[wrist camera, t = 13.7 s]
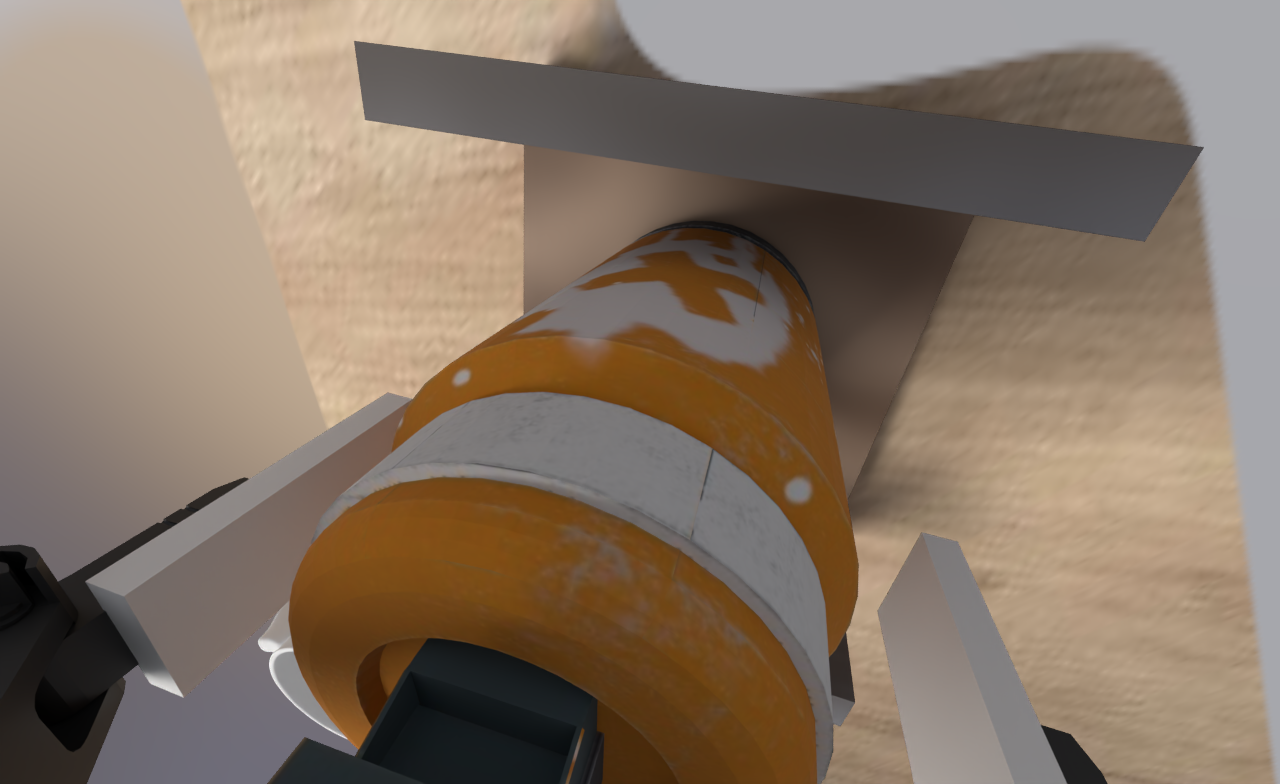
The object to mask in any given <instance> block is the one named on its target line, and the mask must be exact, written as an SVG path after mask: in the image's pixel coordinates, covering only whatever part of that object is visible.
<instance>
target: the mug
mask: <svg viewBox="0 0 1280 784" xmlns="http://www.w3.org/2000/svg"><path fill="white" fill-rule="evenodd" d="M289 603H290V600H289V601H288V602H287V603H286V604H285V605H284V606H283V607H282V608H281V609H280V610H279V611H278V613H277V615H276V617H275V618H274V620H273V622H272V624H271V625H270V627H269V629H268V630H267V631H266V632H265V633H264V634H263V636H261V637H260V638H259V641H258V644H259V646H260V648H261V649H262V650H264V651H267V652H274V653H273V654H272V656H271V657H270V661H269V667H270V672H271V675H272V677H273V679H274V681H275V683H276V684H277V686H278V687H279V688H280V690H281V691H282V692H283V693H284V694H285V696H286V697H287V698H288V699H289V700H290V701H291V702H292V703H293V704H294V705H295V706H296V707H298V708H299V709H300V710H301V711H302V712H303V713H305V714H306V715H307V716H308V717H310V718H311V719H313V720H314V721H316V722H317V723H318V724H320V725H322V726H323V727H325V728H326V729H328V730H330V731H331V732H333V733H335V734H337V735H339V736H341V737H344V738H346V737H345V735H344V734H343V733H342V732H341V731H340V730H339V729H338V728H337V726H336V725H335V724H334V723H333V722H332V721H331V720H330V718H329V717H328V716H327V714H326V713H325V711H324V710H323V709H322V707H321V706H320V705H319V703H318V702H317V700H316V699H315V698H314V696H313V694H312V692H311V691H310V689H309V687H308V685H307V683H306V682H305V680H304V678H303V676H302V674H301V671H300V669H299V666H298V663H297V661H296V658H295V655H294V651H293V645H292V639H291V634H290V628H289V622H288V616H289ZM346 739H347V738H346Z"/></svg>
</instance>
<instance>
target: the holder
mask: <svg viewBox="0 0 1280 784" xmlns="http://www.w3.org/2000/svg"><path fill="white" fill-rule="evenodd" d="M354 43H355V51H356V58H357V65H358V72H359V79H360V86H361V93H362V101H363V108H364V115H365V120H369V121H376V122H382V123H388V124H395V125H401V126H408V127H414V128H421V129H427V130H433V131H440V132H446V133H453V134H459V135H465V136H472V137H478V138H485V139H491V140H497V141H504V142H510V143H517V144H523V145H524V314H526V313H527V312H529V311H530V310H532V309H533V308H535V307H536V306H538V305H539V304H541V303H542V302H544V301H545V300H547V299H548V298H550V297H551V296H553V295H554V294H556V293H557V292H559V291H560V290H562V289H563V288H565V287H566V286H568V285H569V284H571V283H572V282H574V281H575V280H577V279H578V278H580V277H581V276H583V275H584V274H586V273H587V272H589V271H590V270H592V269H593V268H595V267H596V266H598V265H599V264H601V263H602V262H604V261H605V260H607V259H608V258H610V257H611V256H613V255H614V254H616V253H617V252H619V251H620V250H622V249H623V248H625V247H626V246H628V245H630V244H631V243H632V242H634V241H635V240H637V239H638V238H640V237H642V236H644V235H646V234H648V233H650V232H652V231H653V230H655V229H658V228H661V227H664V226H667V225H671V224H674V223H681V222H687V221H714V222H720V223H725V224H730V225H734V226H736V227H739V228H742V229H745V230H747V231H750V232H752V233H754V234H755V235H757V236H759V237H761V238H762V239H764V240H766V241H768V242H769V243H770V244H771V245H772V246H774V247H775V248H776V249H777V250H779V251H780V252H781V253H782V254H783V255H784V256H785V257H786V258H787V259H788V260H789V262H790V263H791V264H792V265H793V266H794V267H795V269H796V270H797V272H798V274H799V275H800V277H801V278H802V280H803V282H804V283H805V285H806V288H807V290H808V293H809V296H810V298H811V301H812V304H813V309H814V314H815V320H816V325H817V331H818V336H819V342H820V348H821V353H822V359H823V365H824V371H825V376H826V382H827V388H828V393H829V399H830V405H831V410H832V416H833V422H834V427H835V433H836V439H837V444H838V450H839V456H840V461H841V467H842V473H843V478H844V484H845V490H846V495H847V500H848V498H849V496H850V494H851V491H852V489H853V487H854V485H855V482H856V480H857V478H858V476H859V473H860V471H861V469H862V467H863V464H864V462H865V460H866V458H867V455H868V453H869V451H870V449H871V446H872V444H873V442H874V440H875V437H876V435H877V433H878V431H879V428H880V426H881V424H882V422H883V419H884V417H885V415H886V413H887V410H888V408H889V406H890V404H891V401H892V399H893V397H894V395H895V392H896V390H897V388H898V386H899V383H900V381H901V379H902V377H903V374H904V372H905V370H906V368H907V365H908V363H909V361H910V359H911V356H912V354H913V352H914V350H915V347H916V345H917V343H918V341H919V339H920V336H921V334H922V332H923V330H924V327H925V325H926V323H927V321H928V318H929V316H930V314H931V312H932V309H933V307H934V305H935V303H936V300H937V298H938V296H939V294H940V291H941V289H942V287H943V285H944V282H945V280H946V278H947V276H948V273H949V271H950V269H951V267H952V264H953V262H954V260H955V258H956V255H957V253H958V251H959V249H960V246H961V244H962V242H963V240H964V237H965V235H966V233H967V231H968V228H969V226H970V224H971V222H972V219H973V217H974V215H978V216H984V217H991V218H997V219H1004V220H1010V221H1016V222H1023V223H1029V224H1036V225H1042V226H1048V227H1055V228H1061V229H1068V230H1074V231H1080V232H1087V233H1093V234H1100V235H1106V236H1112V237H1119V238H1125V239H1132V240H1138V241H1144V242H1145V240H1146V239H1147V237H1148V236H1149V234H1150V232H1151V231H1152V229H1153V228H1154V226H1155V224H1156V223H1157V221H1158V220H1159V218H1160V216H1161V215H1162V213H1163V212H1164V210H1165V208H1166V207H1167V205H1168V204H1169V202H1170V200H1171V199H1172V197H1173V196H1174V194H1175V193H1176V191H1177V189H1178V188H1179V186H1180V185H1181V183H1182V181H1183V180H1184V178H1185V177H1186V175H1187V173H1188V172H1189V170H1190V169H1191V167H1192V165H1193V164H1194V162H1195V161H1196V159H1197V158H1198V156H1199V154H1200V153H1201V151H1202V150H1203V148H1204V147H1197V146H1189V145H1181V144H1173V143H1165V142H1157V141H1149V140H1141V139H1133V138H1125V137H1118V136H1110V135H1102V134H1094V133H1086V132H1078V131H1070V130H1062V129H1054V128H1046V127H1038V126H1030V125H1022V124H1014V123H1006V122H998V121H990V120H982V119H974V118H966V117H958V116H950V115H942V114H934V113H926V112H918V111H910V110H902V109H894V108H886V107H878V106H870V105H862V104H854V103H846V102H838V101H830V100H822V99H814V98H806V97H798V96H790V95H782V94H774V93H766V92H758V91H750V90H742V89H734V88H726V87H718V86H710V85H702V84H694V83H686V82H678V81H670V80H662V79H654V78H646V77H638V76H630V75H622V74H614V73H606V72H598V71H590V70H582V69H574V68H566V67H558V66H550V65H542V64H534V63H526V62H518V61H510V60H502V59H494V58H486V57H478V56H470V55H462V54H454V53H446V52H438V51H430V50H422V49H414V48H406V47H398V46H390V45H382V44H374V43H366V42H358V41H354ZM829 668H830V683H831V697H832V712H833V724H835V725H838V726H841V724H842V723H843V721H844V719H845V718H846V716H847V715H848V713H849V712H850V710H851V708H852V707H853V705H854V704H855V698H854V690H853V682H852V675H851V667H850V659H849V652H848V644H847V636H846V633H845V635H844V636H843V638H842V640H841V642H840V643H839V645H838V647H837V649H836V650H835V651H834V652H833V654H832V655H831V656H830V657H829Z"/></svg>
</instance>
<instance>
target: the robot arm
mask: <svg viewBox="0 0 1280 784" xmlns="http://www.w3.org/2000/svg"><path fill="white" fill-rule="evenodd" d="M411 401H412V399H410V398H407V397H403V396H399V395H395V394H391V393H386V394H385V395H383V396H382V397H380V398H378V399H377V400H375V401H374V402H372V403H370V404H369V405H367V406H366V407H364V408H362V409H361V410H359V411H358V412H356V413H354V414H353V415H351V416H350V417H348V418H346V419H345V420H343V421H342V422H340V423H338V424H337V425H335V426H334V427H332V428H330V429H329V430H327V431H325V432H324V433H322V434H321V435H319V436H317V437H316V438H314V439H313V440H311V441H310V442H308V443H306V444H305V445H303V446H302V447H300V448H298V449H297V450H295V451H294V452H292V453H290V454H289V455H287V456H285V457H284V458H282V459H281V460H279V461H278V462H276V463H274V464H273V465H271V466H270V467H268V468H266V469H265V470H263V471H261V472H260V473H258V474H257V475H255V476H253V477H252V478H250V479H248V478H242V479H239V480H236V481H233V482H231V483H228V484H226V485H223V486H220V487H218V488H215V489H213V490H211V491H209V492H208V493H206V494H204V495H203V496H201V497H199V498H198V499H196V500H195V501H193V502H191V503H190V504H188V505H186V508H185V509H180V510H178V511H176V512H175V513H173V514H171V515H170V516H168V517H166V518H165V519H164V521H163V522H162V523H156V524H155V525H153V526H151V527H150V528H148V529H146V530H145V531H143V532H141V533H140V534H138V535H136V536H135V537H133V538H131V539H130V540H128V541H127V542H125V543H123V544H121V545H120V546H118V547H116V548H115V549H114V550H111V551H110V552H108V553H107V554H105V555H103V556H102V557H100V558H98V559H97V560H95V561H93V562H92V563H90V564H88V565H87V566H85V567H83V568H82V569H80V570H78V571H77V572H75V573H73V574H72V575H70V576H68V577H66V578H64V579H62V580H61V581H59V582H58V581H57V580H56V578H55V577H54V575H53V574H52V573H51V571H50V569H49V568H48V567H47V565H46V564H45V562H44V561H43V559H42V558H41V556H40V555H39V553H38V552H37V551H36V550H35V548H33V547H28V546H24V545H10V546H0V784H87V782H88V779H89V777H90V774H91V772H92V770H93V767H94V765H95V762H96V760H97V758H98V755H99V753H100V750H101V748H102V745H103V743H104V740H105V738H106V736H107V733H108V731H109V728H110V726H111V724H112V721H113V719H114V716H115V714H116V711H117V709H118V706H119V704H120V701H121V699H122V697H123V694H124V690H125V683H126V681H125V680H124V678H123V676H124V675H125V674H127V673H128V672H129V671H130V670H132V669H133V668H134V667H135V666H137V665H139V667H140V668H141V670H142V671H143V673H144V674H145V676H146V678H147V679H148V681H149V682H150V684H152V685H155V686H157V687H160V688H162V689H164V690H167V691H169V692H172V693H174V694H176V695H179V696H181V697H185V696H187V695H188V694H189V693H190V692H191V691H192V690H193V689H194V688H195V687H196V686H197V685H198V684H200V683H201V682H202V681H203V680H204V679H205V678H206V677H207V676H208V675H209V674H210V673H211V672H212V671H214V670H215V669H216V668H217V667H218V666H219V665H220V664H221V663H222V662H223V661H224V660H225V659H227V658H228V657H229V656H230V655H231V654H232V653H233V652H234V651H235V650H236V649H237V648H238V647H240V646H241V645H242V644H243V643H244V642H245V641H246V640H247V639H248V638H249V637H250V636H252V635H253V634H254V633H255V632H256V631H257V630H258V629H259V628H260V627H261V626H262V625H263V624H265V622H267V621H268V620H269V619H270V618H271V617H272V616H273V615H274V614H275V613H276V612H278V611H279V610H280V609H281V608H282V607H283V606H284V605H285V604H286V603H287V602H288V601H289V600H290V595H291V590H292V584H293V581H294V579H295V576H296V574H297V571H298V569H299V566H300V564H301V562H302V560H303V558H304V556H305V554H306V552H307V550H308V548H309V547H310V546H311V540H312V538H313V535H314V533H315V530H316V528H317V525H318V523H319V521H320V518H321V517H322V516H323V514H324V513H325V512H326V511H327V509H328V508H329V507H330V506H331V504H332V503H333V502H334V501H335V499H336V498H337V497H339V496H340V495H341V494H342V493H343V492H345V491H346V490H347V489H348V488H349V487H351V486H352V485H353V484H354V483H356V482H357V481H358V480H359V479H360V478H362V477H363V476H364V475H365V474H366V473H368V472H369V471H370V470H371V469H373V468H374V467H375V466H376V465H377V464H379V463H380V462H381V461H382V460H384V459H385V458H386V457H387V456H388V455H390V454H391V451H392V446H393V442H394V437H395V433H396V429H397V427H398V425H399V423H400V421H401V419H402V417H403V415H404V412H405V410H406V408H407V406H408V405H409V403H410V402H411ZM878 616H879V620H880V625H881V630H882V634H883V639H884V644H885V649H886V653H887V658H888V663H889V668H890V672H891V677H892V682H893V686H894V691H895V696H896V701H897V705H898V710H899V715H900V720H901V724H902V729H903V734H904V738H905V743H906V748H907V753H908V757H909V762H910V767H911V772H912V776H913V781H914V784H1107V782H1106V780H1105V778H1104V776H1103V774H1102V773H1101V771H1100V770H1099V769H1098V768H1097V766H1096V765H1095V764H1094V763H1093V761H1092V760H1091V759H1090V758H1089V756H1088V755H1087V754H1086V753H1085V752H1084V750H1083V749H1082V748H1081V747H1080V745H1079V744H1078V743H1077V742H1076V740H1075V739H1074V738H1073V737H1072V735H1071V734H1068V733H1065V732H1062V731H1059V730H1055V729H1052V728H1049V727H1046V726H1043V725H1040V723H1039V720H1038V718H1037V716H1036V714H1035V712H1034V709H1033V707H1032V705H1031V703H1030V701H1029V698H1028V696H1027V694H1026V692H1025V690H1024V687H1023V685H1022V683H1021V681H1020V678H1019V676H1018V674H1017V672H1016V670H1015V667H1014V665H1013V663H1012V661H1011V659H1010V656H1009V654H1008V652H1007V650H1006V648H1005V645H1004V643H1003V641H1002V639H1001V636H1000V634H999V632H998V630H997V628H996V625H995V623H994V621H993V619H992V617H991V614H990V612H989V610H988V608H987V605H986V603H985V601H984V599H983V597H982V594H981V592H980V590H979V588H978V586H977V583H976V581H975V579H974V577H973V575H972V572H971V570H970V568H969V566H968V563H967V561H966V559H965V557H964V555H963V552H962V550H961V548H960V546H959V544H958V542H957V541H953V540H949V539H945V538H941V537H937V536H934V535H930V534H926V533H921V534H920V536H919V538H918V540H917V542H916V543H915V545H914V547H913V549H912V550H911V552H910V554H909V556H908V558H907V559H906V561H905V563H904V565H903V566H902V568H901V570H900V572H899V574H898V575H897V577H896V579H895V581H894V583H893V584H892V586H891V588H890V590H889V591H888V593H887V595H886V597H885V599H884V600H883V602H882V604H881V606H880V607H879V609H878Z"/></svg>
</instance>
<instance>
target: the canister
mask: <svg viewBox="0 0 1280 784" xmlns="http://www.w3.org/2000/svg"><path fill="white" fill-rule="evenodd" d="M858 568H859V564H858V558H857V552H856V547H855V541H854V535H853V530H852V524H851V518H850V513H849V507H848V501H847V495H846V490H845V484H844V478H843V473H842V467H841V461H840V456H839V450H838V444H837V439H836V433H835V427H834V422H833V416H832V410H831V405H830V399H829V393H828V388H827V382H826V376H825V371H824V365H823V359H822V353H821V348H820V342H819V336H818V331H817V325H816V320H815V314H814V309H813V304H812V301H811V298H810V296H809V293H808V290H807V288H806V285H805V283H804V282H803V280H802V278H801V277H800V275H799V274H798V272H797V270H796V269H795V267H794V266H793V265H792V264H791V263H790V262H789V260H788V259H787V258H786V257H785V256H784V255H783V254H782V253H781V252H780V251H779V250H777V249H776V248H775V247H774V246H772V245H771V244H770V243H769V242H768V241H766V240H764V239H762V238H761V237H759V236H757V235H755V234H754V233H752V232H750V231H747V230H745V229H742V228H739V227H736V226H734V225H730V224H725V223H720V222H714V221H687V222H681V223H674V224H671V225H667V226H664V227H661V228H658V229H655V230H653V231H652V232H650V233H648V234H646V235H644V236H642V237H640V238H638V239H637V240H635V241H634V242H632V243H631V244H630V245H628V246H626V247H625V248H623V249H622V250H620V251H619V252H617V253H616V254H614V255H613V256H611V257H610V258H608V259H607V260H605V261H604V262H602V263H601V264H599V265H598V266H596V267H595V268H593V269H592V270H590V271H589V272H587V273H586V274H584V275H583V276H581V277H580V278H578V279H577V280H575V281H574V282H572V283H571V284H569V285H568V286H566V287H565V288H563V289H562V290H560V291H559V292H557V293H556V294H554V295H553V296H551V297H550V298H548V299H547V300H545V301H544V302H542V303H541V304H539V305H538V306H536V307H535V308H533V309H532V310H530V311H529V312H527V313H526V314H524V315H523V316H521V317H520V318H518V319H517V320H515V321H514V322H512V323H511V324H509V325H508V326H506V327H505V328H503V329H502V330H500V331H499V332H497V333H496V334H494V335H493V336H491V337H490V338H488V339H487V340H485V341H484V342H482V343H481V344H479V345H478V346H476V347H475V348H473V349H472V350H470V351H469V352H467V353H466V354H464V355H463V356H461V357H460V358H458V359H457V360H455V361H454V362H452V363H451V364H449V365H448V366H447V367H445V368H444V369H443V370H442V371H440V372H439V373H438V374H437V375H435V376H434V377H433V378H432V379H430V380H429V381H428V382H427V383H425V385H424V386H423V387H422V388H421V390H420V391H419V392H418V393H417V395H416V396H415V397H414V398H413V400H412V401H411V402H410V403H409V405H408V406H407V408H406V410H405V412H404V415H403V417H402V419H401V421H400V423H399V425H398V427H397V429H396V433H395V437H394V442H393V446H392V451H391V454H390V455H388V456H387V457H386V458H385V459H384V460H382V461H381V462H380V463H379V464H377V465H376V466H375V467H374V468H373V469H371V470H370V471H369V472H368V473H366V474H365V475H364V476H363V477H362V478H360V479H359V480H358V481H357V482H356V483H354V484H353V485H352V486H351V487H349V488H348V489H347V490H346V491H345V492H343V493H342V494H341V495H340V496H339V497H337V498H336V499H335V501H334V502H333V503H332V504H331V506H330V507H329V508H328V509H327V511H326V512H325V513H324V514H323V516H322V517H321V518H320V521H319V523H318V525H317V528H316V530H315V533H314V535H313V538H312V540H311V546H310V547H309V548H308V550H307V552H306V554H305V556H304V558H303V560H302V562H301V564H300V566H299V569H298V571H297V574H296V576H295V579H294V581H293V584H292V590H291V595H290V603H289V616H288V622H289V628H290V634H291V639H292V645H293V651H294V655H295V658H296V661H297V663H298V666H299V669H300V671H301V674H302V676H303V678H304V680H305V682H306V683H307V685H308V687H309V689H310V691H311V692H312V694H313V696H314V698H315V699H316V700H317V702H318V703H319V705H320V706H321V707H322V709H323V710H324V711H325V713H326V714H327V716H328V717H329V718H330V720H331V721H332V722H333V723H334V724H335V725H336V726H337V728H338V729H339V730H340V731H341V732H342V733H343V734H344V735H345V737H346V738H347V739H348V740H349V741H350V742H351V743H352V744H353V745H354V746H355V747H356V748H357V749H358V752H357V754H356V755H355V756H352V755H349V754H347V753H344V752H342V751H339V750H336V749H334V748H331V747H329V746H326V745H323V744H321V743H318V742H316V741H313V740H311V739H308V738H304V739H303V740H302V741H301V742H300V744H299V745H298V746H297V747H296V749H295V750H294V751H293V752H292V753H291V755H290V756H289V757H288V759H287V760H286V761H285V762H284V763H283V765H282V766H281V767H280V768H279V770H278V771H277V772H276V774H275V775H274V776H273V777H272V778H271V780H270V781H269V782H268V783H267V784H821V782H822V781H823V780H824V778H825V776H826V773H827V770H828V766H829V763H830V760H831V757H832V753H833V712H832V697H831V683H830V668H829V657H830V656H831V655H832V654H833V652H834V651H835V650H836V649H837V647H838V645H839V643H840V642H841V640H842V638H843V636H844V635H845V633H846V631H847V629H848V627H849V626H850V623H851V619H852V615H853V612H854V608H855V604H856V601H857V597H858Z"/></svg>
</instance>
